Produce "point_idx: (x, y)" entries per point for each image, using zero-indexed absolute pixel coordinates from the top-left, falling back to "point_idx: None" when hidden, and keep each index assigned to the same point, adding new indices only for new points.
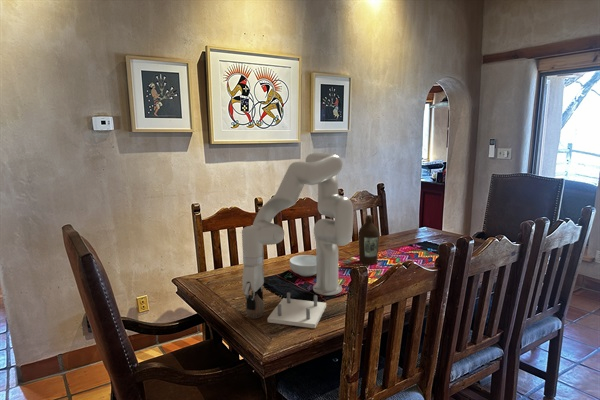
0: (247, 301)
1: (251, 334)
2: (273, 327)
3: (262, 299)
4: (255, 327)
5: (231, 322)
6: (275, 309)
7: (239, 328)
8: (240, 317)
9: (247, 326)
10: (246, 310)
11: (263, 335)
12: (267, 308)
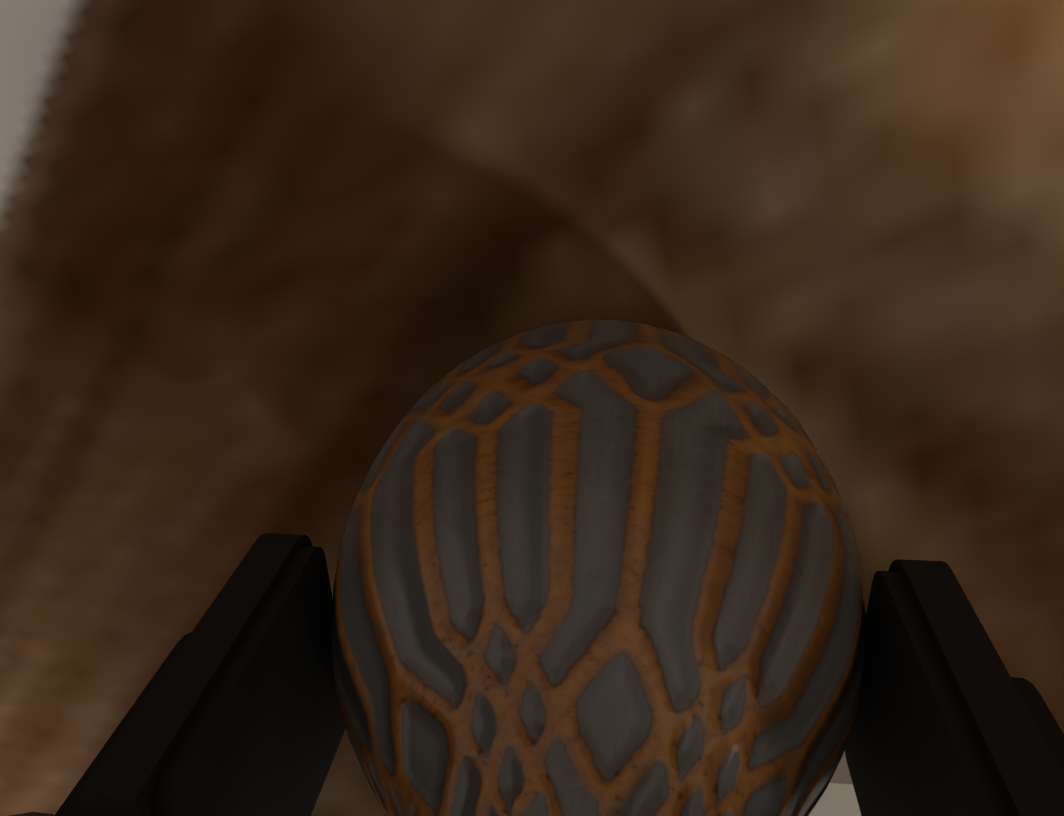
0: (141, 743)
1: (15, 591)
2: (340, 795)
3: (867, 803)
4: (224, 581)
5: (169, 55)
6: (831, 798)
7: (56, 344)
8: (464, 157)
9: (189, 452)
10: (412, 411)
11: (87, 734)
12: (1020, 564)
